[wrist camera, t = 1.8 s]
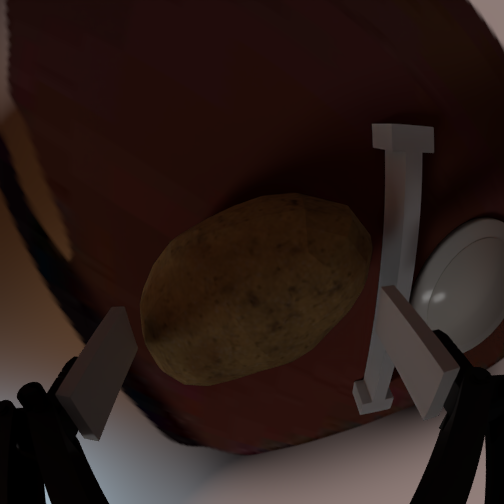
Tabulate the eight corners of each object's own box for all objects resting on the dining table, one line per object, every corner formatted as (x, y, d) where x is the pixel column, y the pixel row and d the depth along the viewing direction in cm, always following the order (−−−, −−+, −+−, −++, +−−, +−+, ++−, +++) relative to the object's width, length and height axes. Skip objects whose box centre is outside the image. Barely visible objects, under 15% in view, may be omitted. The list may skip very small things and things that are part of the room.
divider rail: (371, 123, 18) (391, 123, 15) (410, 126, 18) (433, 127, 15) (352, 392, 27) (360, 415, 24) (380, 386, 26) (390, 408, 24)
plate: (420, 220, 20) (426, 224, 19) (528, 215, 20) (535, 218, 19) (395, 365, 25) (398, 371, 24) (497, 336, 25) (501, 341, 24)
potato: (370, 259, 21) (420, 320, 14) (214, 350, 24) (204, 428, 17) (300, 140, 18) (335, 147, 11) (132, 259, 21) (83, 321, 14)
